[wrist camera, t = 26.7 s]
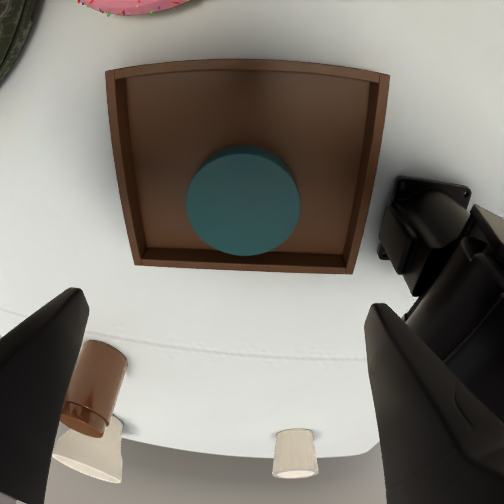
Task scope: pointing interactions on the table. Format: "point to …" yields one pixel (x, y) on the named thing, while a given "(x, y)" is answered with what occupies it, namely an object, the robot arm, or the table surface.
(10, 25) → the canister
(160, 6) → the doughnut
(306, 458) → the cream cylinder
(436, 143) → the table surface
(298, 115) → the tray
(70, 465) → the cream flower pot
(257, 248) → the lid
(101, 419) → the jar
